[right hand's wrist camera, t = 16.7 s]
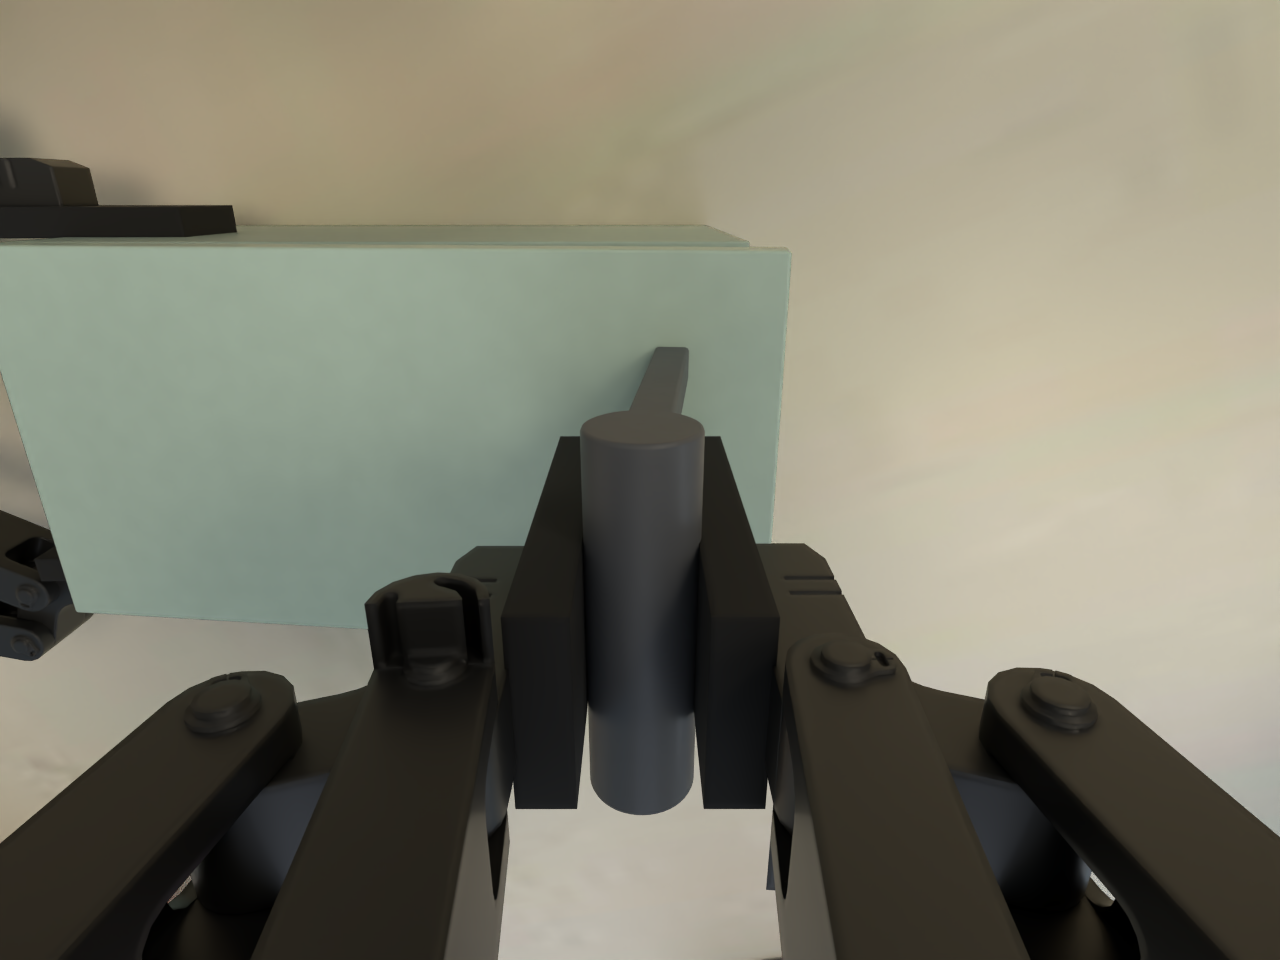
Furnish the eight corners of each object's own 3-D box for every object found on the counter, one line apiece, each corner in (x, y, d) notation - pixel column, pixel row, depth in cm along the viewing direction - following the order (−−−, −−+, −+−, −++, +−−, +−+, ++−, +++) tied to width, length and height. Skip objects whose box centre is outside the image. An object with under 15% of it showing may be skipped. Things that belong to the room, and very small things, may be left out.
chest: (707, 225, 27) (750, 241, 17) (700, 465, 30) (732, 588, 21) (223, 225, 26) (0, 241, 17) (270, 467, 30) (104, 592, 20)
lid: (787, 246, 15) (849, 295, 8) (761, 629, 19) (787, 918, 11) (2, 241, 17) (-557, 277, 10) (105, 593, 20) (-249, 821, 13)
